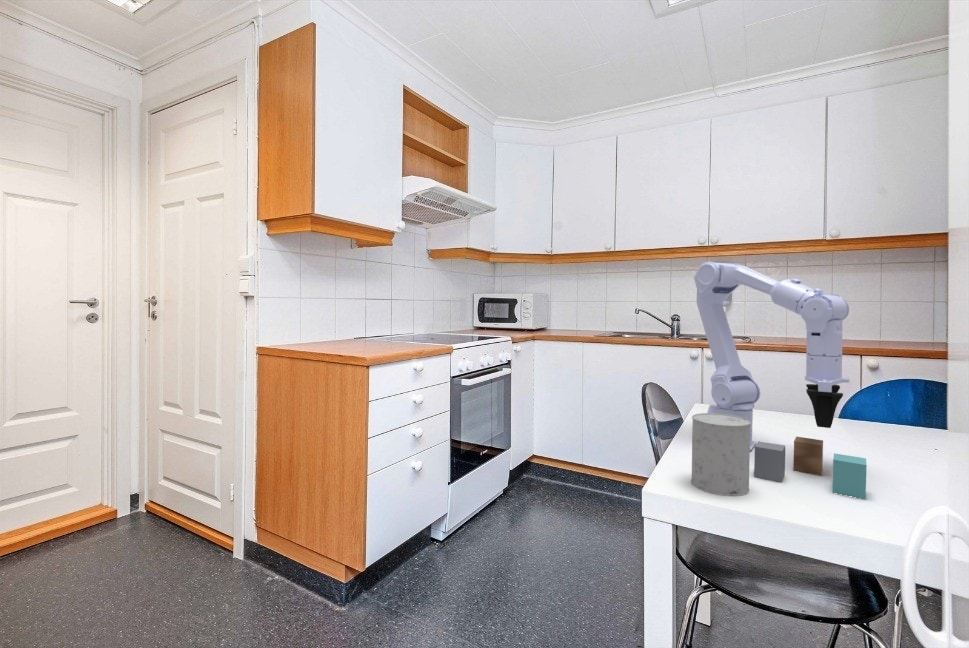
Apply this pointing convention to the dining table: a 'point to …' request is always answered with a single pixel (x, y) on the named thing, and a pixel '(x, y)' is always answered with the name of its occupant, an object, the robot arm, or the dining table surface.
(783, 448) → the charcoal block
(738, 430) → the grey concrete cylinder
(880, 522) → the dining table surface
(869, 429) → the dining table surface
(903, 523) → the dining table surface
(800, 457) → the walnut block
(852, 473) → the teal block
